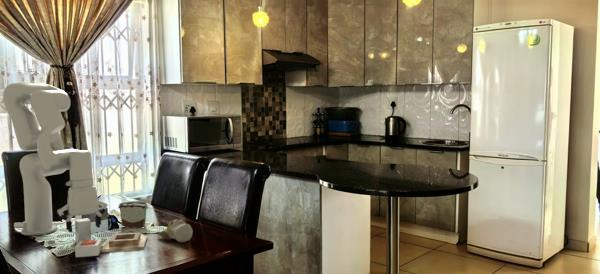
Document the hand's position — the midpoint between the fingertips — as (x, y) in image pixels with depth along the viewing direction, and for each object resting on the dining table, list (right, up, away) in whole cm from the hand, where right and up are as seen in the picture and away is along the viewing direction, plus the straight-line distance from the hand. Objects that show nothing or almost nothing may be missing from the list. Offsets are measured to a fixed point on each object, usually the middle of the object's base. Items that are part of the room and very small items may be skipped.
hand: (84, 229), depth 175 cm
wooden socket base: (+17, -5, -4) cm, 18 cm away
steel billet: (-1, -5, +1) cm, 5 cm away
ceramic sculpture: (+34, -5, +3) cm, 35 cm away
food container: (+12, -3, +22) cm, 25 cm away
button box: (+8, -6, -14) cm, 17 cm away
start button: (+8, -4, -14) cm, 16 cm away
